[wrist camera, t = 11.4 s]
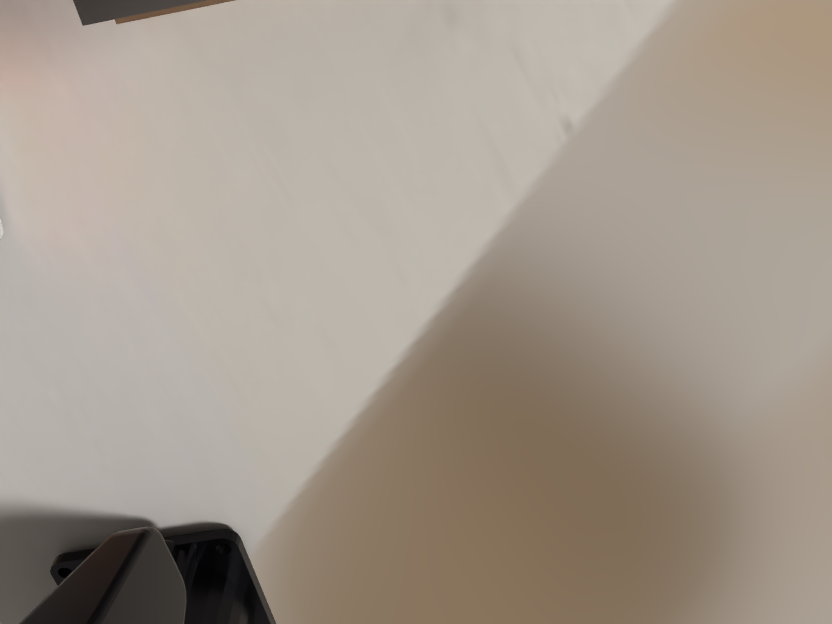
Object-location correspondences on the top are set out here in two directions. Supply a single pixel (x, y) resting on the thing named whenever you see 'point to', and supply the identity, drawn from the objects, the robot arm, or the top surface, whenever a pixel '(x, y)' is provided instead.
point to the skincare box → (1, 230)
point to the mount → (133, 9)
